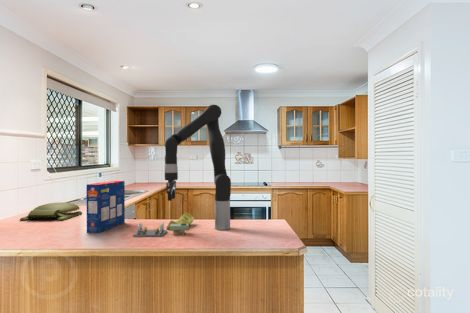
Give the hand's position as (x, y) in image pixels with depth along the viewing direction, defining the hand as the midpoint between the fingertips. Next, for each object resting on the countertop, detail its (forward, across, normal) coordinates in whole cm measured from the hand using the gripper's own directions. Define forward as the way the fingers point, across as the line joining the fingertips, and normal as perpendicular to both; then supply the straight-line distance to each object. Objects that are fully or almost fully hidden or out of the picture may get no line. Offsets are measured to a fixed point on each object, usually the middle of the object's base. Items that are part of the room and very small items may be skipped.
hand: (171, 199), depth 189 cm
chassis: (+19, -5, +11) cm, 22 cm away
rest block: (+19, -4, -5) cm, 20 cm away
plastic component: (+20, +14, -3) cm, 24 cm away
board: (+16, -4, -5) cm, 17 cm away
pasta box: (+19, +11, +44) cm, 49 cm away
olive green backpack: (+18, +46, +97) cm, 109 cm away
